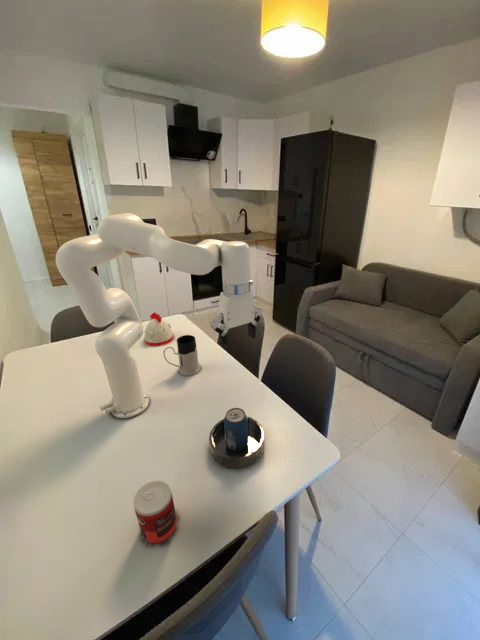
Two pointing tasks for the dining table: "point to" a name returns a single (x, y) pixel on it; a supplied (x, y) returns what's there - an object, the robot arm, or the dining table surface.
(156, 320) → the kitchen timer
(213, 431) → the bowl
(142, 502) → the canned food
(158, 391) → the dining table surface
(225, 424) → the soda can
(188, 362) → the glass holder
